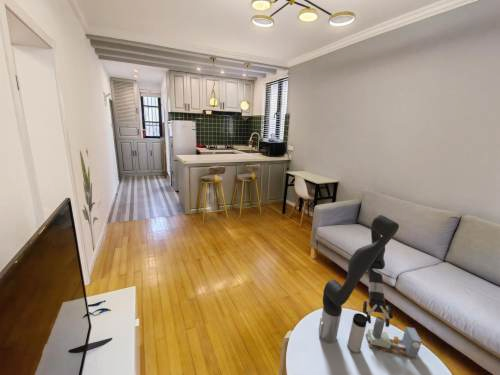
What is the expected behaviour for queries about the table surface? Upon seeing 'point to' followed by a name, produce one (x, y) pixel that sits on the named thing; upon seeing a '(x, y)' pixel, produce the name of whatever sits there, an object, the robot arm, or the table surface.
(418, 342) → the end cabinet
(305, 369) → the table surface
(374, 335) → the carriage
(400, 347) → the track
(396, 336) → the button
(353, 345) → the travel mug
